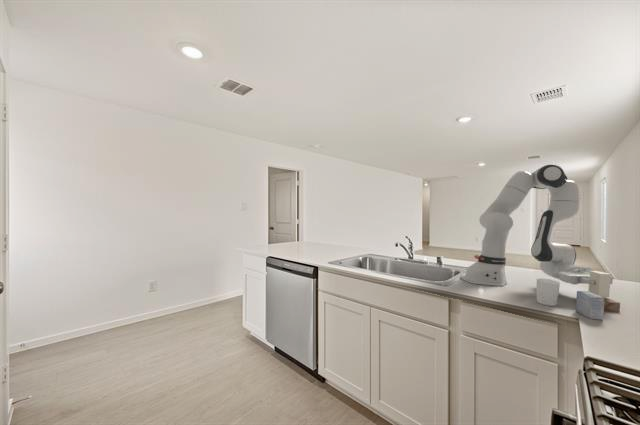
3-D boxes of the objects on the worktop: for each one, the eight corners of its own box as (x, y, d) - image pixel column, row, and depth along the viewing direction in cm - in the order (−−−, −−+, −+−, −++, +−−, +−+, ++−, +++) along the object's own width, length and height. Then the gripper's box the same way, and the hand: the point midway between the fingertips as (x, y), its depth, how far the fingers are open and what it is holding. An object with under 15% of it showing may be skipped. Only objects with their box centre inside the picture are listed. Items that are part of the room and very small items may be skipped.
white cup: (533, 302, 120) (534, 280, 120) (537, 298, 125) (538, 277, 125) (556, 308, 114) (557, 284, 114) (560, 304, 119) (561, 281, 119)
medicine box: (603, 320, 103) (605, 298, 103) (589, 319, 104) (591, 296, 104) (587, 312, 111) (589, 291, 111) (575, 310, 112) (576, 290, 112)
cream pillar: (598, 297, 115) (600, 273, 114) (588, 293, 119) (590, 271, 119) (608, 297, 115) (610, 274, 114) (598, 293, 119) (600, 271, 119)
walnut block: (597, 311, 113) (597, 301, 113) (577, 303, 122) (577, 294, 122) (619, 312, 113) (620, 302, 112) (597, 303, 122) (598, 295, 121)
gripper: (550, 267, 130) (577, 275, 116) (594, 268, 129) (626, 276, 115) (549, 280, 130) (576, 289, 116) (593, 281, 130) (625, 291, 116)
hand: (601, 283), depth 116 cm, fingers closed on cream pillar, 4 cm apart
